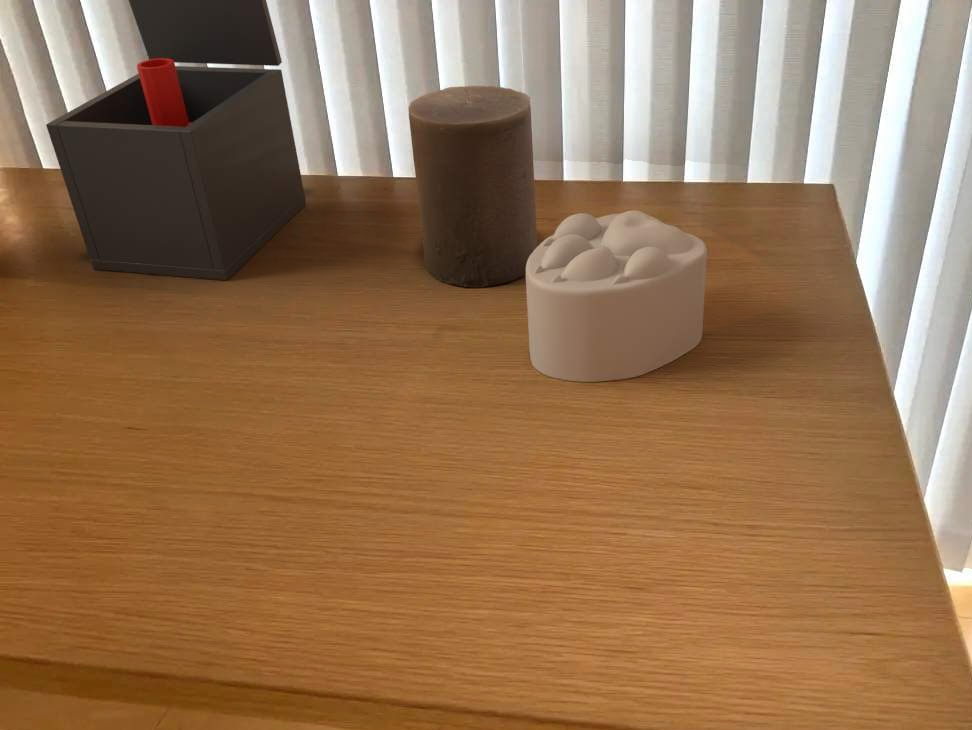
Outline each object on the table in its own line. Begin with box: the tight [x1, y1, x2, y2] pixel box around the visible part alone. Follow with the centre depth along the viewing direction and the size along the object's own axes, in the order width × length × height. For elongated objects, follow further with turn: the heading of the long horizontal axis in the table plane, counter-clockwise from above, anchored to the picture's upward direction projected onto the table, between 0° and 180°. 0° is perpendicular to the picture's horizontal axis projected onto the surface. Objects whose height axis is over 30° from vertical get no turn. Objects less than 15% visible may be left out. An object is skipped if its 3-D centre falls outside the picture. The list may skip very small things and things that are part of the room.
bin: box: [45, 65, 307, 282], centre depth 89 cm, size 16×13×13 cm
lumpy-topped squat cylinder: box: [525, 209, 708, 383], centre depth 72 cm, size 10×13×9 cm
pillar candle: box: [408, 85, 539, 288], centre depth 82 cm, size 10×10×15 cm
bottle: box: [136, 58, 192, 127], centre depth 87 cm, size 6×6×15 cm
